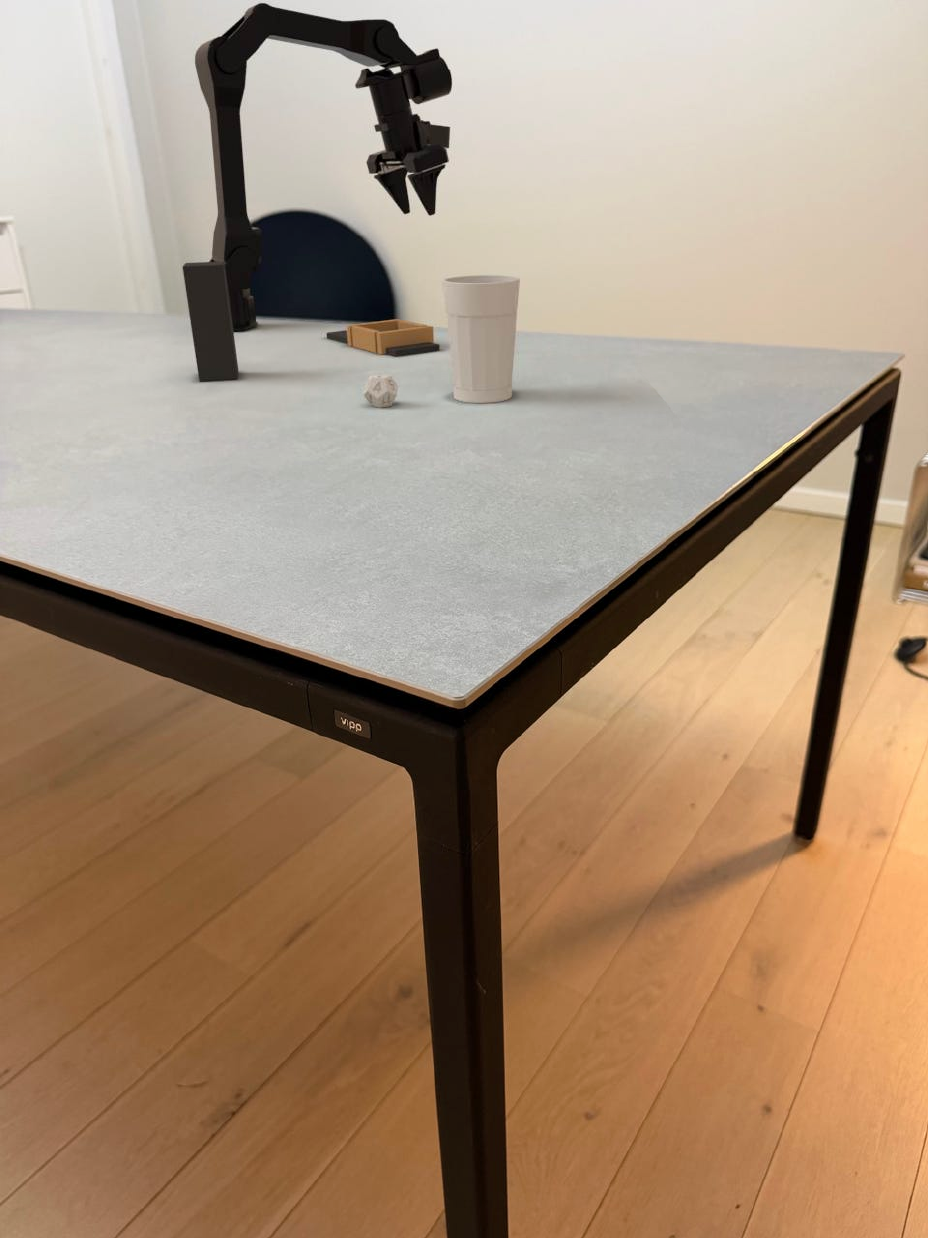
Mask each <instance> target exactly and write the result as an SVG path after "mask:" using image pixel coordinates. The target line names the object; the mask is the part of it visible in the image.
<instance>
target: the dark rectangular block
mask: <svg viewBox="0 0 928 1238" xmlns="http://www.w3.org/2000/svg"><path fill="white" fill-rule="evenodd" d="M182 272H183V279H184V287H185V294H186V300H187V307H188V315H189V321H190V328H191V334H192V341H193V346H194V347H193V348H194V354H195V361H196V368H197V374H198V381H199V382H215V381H231V380H232V381H234V380H238V378H239V364H238V363H239V362H238V357H237V347H236V341H235V334H234V331H233V324H232V317H231V309H230V301H229V293H228V285H227V278H226V270H225V262H224V261H222V262H209V261H201V262H200V261H199V262H197V261H196V262H185V263H184V264H183V265H182Z"/></svg>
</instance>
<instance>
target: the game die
mask: <svg viewBox="0 0 928 1238" xmlns="http://www.w3.org/2000/svg"><path fill="white" fill-rule="evenodd" d="M398 391H399V385H398V384H397V382H396V380H395V379H394V378H393V376H392V375H390V374H383V373H379V374H373V375H369V378H368V380H367V382H366V385H365V387H364V391H363V397H364V398H365V400H366V401H367V403H368V404H369V406H371V407H375V408H380V409H381V408H387V407H392V405H393V404H394V402H395V400H396V397H397V396H398Z"/></svg>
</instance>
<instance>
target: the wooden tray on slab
mask: <svg viewBox="0 0 928 1238" xmlns="http://www.w3.org/2000/svg"><path fill="white" fill-rule="evenodd" d="M434 336H435V335H434V326H432V325H428V324H424V323H418V322H414V321H409V320H402V319H399V318H396V319H388V320H380V321H370V322H363V323H362V322H361V323H355V324H347V325H346V329H345V330H338V331H336V330H335V331H328V332H326V339H328V340H331V341H332V340H333V341H335V342H336V341H337V342H340V343H344V344H347V346H348V347H352V348H356V349H358V350H363V351H367V352H371V353H374V354H378V355H388V356H392V357H403V356H410V355H417V354H424V353H429V352H437V351H440V344H439V343H435V339H434V338H435V337H434Z"/></svg>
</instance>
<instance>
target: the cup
mask: <svg viewBox="0 0 928 1238" xmlns="http://www.w3.org/2000/svg"><path fill="white" fill-rule="evenodd" d="M520 283H521V278H520V277H518V276H515V275H505V274H473V275H459V276H451V277H446V278H444V279H442V289H443V296H444V307H445V313H446V319H447V331H448V340H449V341H448V342H449V349H450V352H449V353H450V360H451V369H452V372H451V373H452V381H453V387H452V388H453V398H454V400H457V401H458V402H459V401H460V402H464V403H472V404H487V403H499V402H503V401H507V400H510V399H512V396H513V373H514V361H515V360H514V359H515V347H516V333H517V331H516V330H517V318H518V307H519V297H520V286H521V285H520Z"/></svg>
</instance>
